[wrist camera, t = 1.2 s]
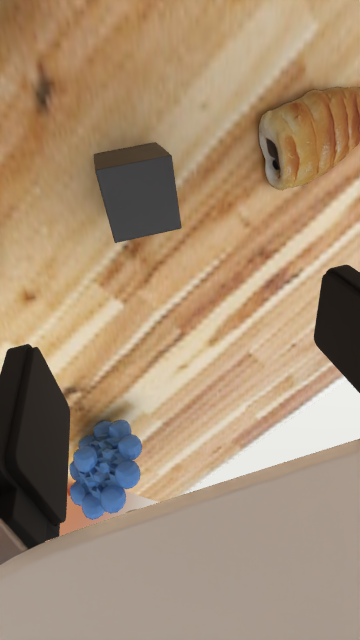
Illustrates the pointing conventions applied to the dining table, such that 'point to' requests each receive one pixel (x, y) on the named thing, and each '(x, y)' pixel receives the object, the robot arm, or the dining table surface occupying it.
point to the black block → (138, 191)
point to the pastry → (309, 135)
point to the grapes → (105, 468)
